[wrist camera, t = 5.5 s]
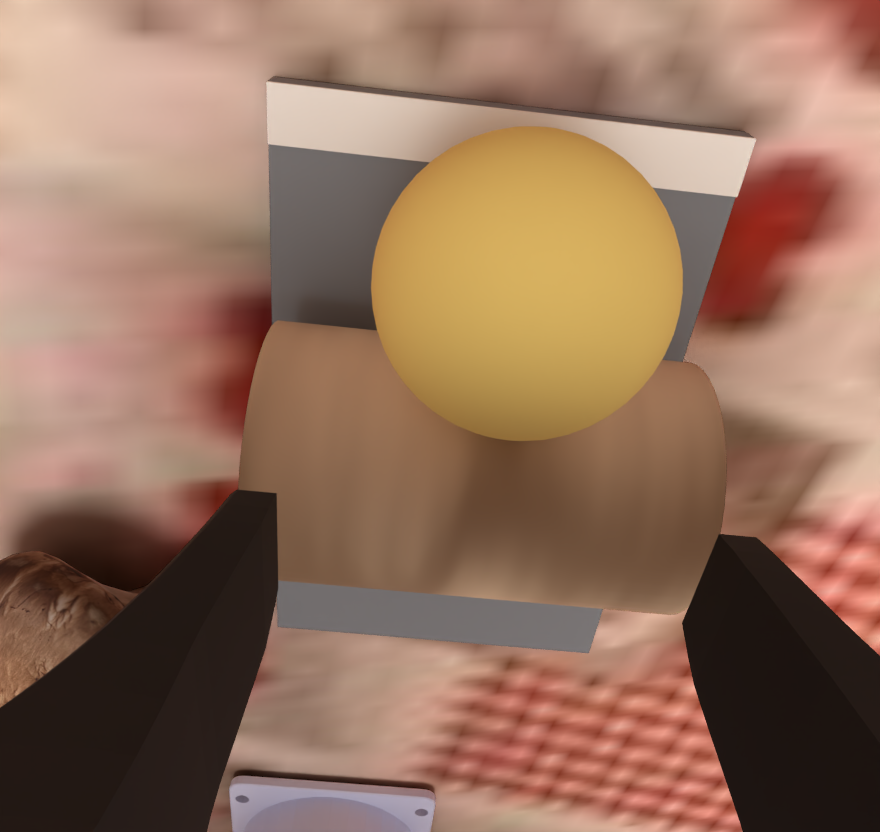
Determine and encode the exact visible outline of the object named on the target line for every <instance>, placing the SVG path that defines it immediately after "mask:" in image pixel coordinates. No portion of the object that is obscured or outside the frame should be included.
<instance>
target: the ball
mask: <svg viewBox="0 0 880 832" xmlns="http://www.w3.org/2000/svg"><path fill="white" fill-rule="evenodd" d="M371 294H372V307H373V313H374V318H375V323H376V327H377V331H378V334H379V337H380V340H381V343H382V346H383V348H384V350H385V352H386V354H387V356H388V358H389V360H390V362H391V364H392V366H393V368H394V369H395V371H396V372H397V374H398V375H399V376H400V378H401V379H402V381H403V382H404V383H405V385H406V386H407V387H408V388H409V389H410V390H411V391H412V392H413V393H414V395H415V396H416V397H417V398H418V399H419V400H420V401H421V402H423V403H424V404H425V405H426V406H427V407H429V408H430V409H431V410H432V411H434V412H435V413H436V414H438V415H439V416H441V417H443V418H444V419H446V420H448V421H449V422H451V423H453V424H454V425H457V426H459V427H461V428H464V429H466V430H469V431H471V432H474V433H476V434H479V435H483V436H487V437H491V438H496V439H502V440H510V441H534V440H546V439H551V438H556V437H560V436H565V435H569V434H571V433H574V432H577V431H579V430H582V429H585V428H587V427H590V426H592V425H594V424H595V423H597V422H599V421H601V420H603V419H605V418H607V417H608V416H609V415H611V414H612V413H614V412H615V411H616V410H618V409H619V408H620V407H622V406H623V405H624V404H626V403H627V402H628V401H629V400H630V399H631V398H632V397H633V396H634V395H635V394H636V393H637V392H638V391H639V390H640V389H641V388H642V387H643V386H644V385H645V383H646V382H647V381H648V380H649V378H650V377H651V376H652V375H653V373H654V372H655V370H656V369H657V367H658V365H659V364H660V362H661V360H662V359H663V357H664V355H665V354H666V351H667V349H668V347H669V344H670V342H671V340H672V337H673V335H674V332H675V328H676V325H677V321H678V318H679V314H680V308H681V301H682V294H683V268H682V260H681V253H680V247H679V244H678V240H677V236H676V233H675V229H674V226H673V224H672V222H671V219H670V217H669V215H668V212H667V210H666V208H665V206H664V205H663V203H662V201H661V200H660V198H659V196H658V195H657V193H656V192H655V190H654V189H653V188H652V186H651V185H650V184H649V183H648V182H647V180H646V179H645V178H644V177H643V175H642V174H641V173H640V172H639V171H637V170H636V169H635V168H634V167H633V166H632V165H631V164H630V163H629V162H628V161H627V160H625V159H624V158H623V157H622V156H620V155H619V154H617V153H616V152H614V151H613V150H611V149H610V148H608V147H607V146H605V145H603V144H601V143H599V142H596V141H594V140H592V139H590V138H588V137H586V136H583V135H580V134H577V133H573V132H569V131H565V130H562V129H557V128H551V127H539V126H519V127H511V128H505V129H499V130H494V131H490V132H487V133H484V134H481V135H478V136H475V137H472V138H469V139H467V140H465V141H463V142H461V143H459V144H457V145H455V146H453V147H451V148H450V149H448V150H447V151H445V152H444V153H442V154H441V155H439V156H438V157H436V158H435V159H433V160H432V161H431V162H430V163H429V164H428V165H427V166H426V167H425V168H423V169H422V170H421V171H420V172H419V173H418V174H417V175H416V176H415V177H414V178H413V180H412V181H411V182H410V183H409V184H408V185H407V187H406V188H405V189H404V190H403V191H402V193H401V194H400V196H399V198H398V199H397V201H396V202H395V204H394V205H393V207H392V208H391V210H390V212H389V215H388V217H387V219H386V221H385V223H384V225H383V227H382V230H381V233H380V236H379V239H378V242H377V246H376V250H375V255H374V260H373V266H372V280H371Z"/></svg>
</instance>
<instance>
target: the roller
mask: <svg viewBox="0 0 880 832" xmlns="http://www.w3.org/2000/svg"><path fill="white" fill-rule="evenodd" d="M726 474H727V463H726V443H725V432H724V426H723V419H722V414H721V410H720V406H719V402H718V399H717V396H716V393H715V390H714V388H713V386H712V384H711V382H710V380H709V378H708V377H707V375H706V374H705V372H704V371H703V370H702V369H701V368H700V367H699V366H697V365H695V364H693V363H689V362H679V361H669V360H661V362H660V364H659V365H658V367H657V369H656V370H655V372H654V373H653V375H652V376H651V377H650V378H649V380H648V381H647V382H646V383H645V385H644V386H643V387H642V388H641V389H640V390H639V391H638V392H637V393H636V394H635V395H634V396H633V397H632V398H631V399H630V400H629V401H628V402H627V403H626V404H624V405H623V406H622V407H620V408H619V409H618V410H616V411H615V412H614V413H612V414H611V415H609V416H608V417H607V418H605V419H603V420H601V421H599V422H597V423H595V424H594V425H592V426H590V427H587V428H585V429H582V430H579V431H577V432H574V433H571V434H569V435H565V436H560V437H556V438H551V439H546V440H534V441H510V440H502V439H496V438H491V437H487V436H483V435H479V434H476V433H474V432H471V431H469V430H466V429H464V428H461V427H459V426H457V425H454V424H453V423H451V422H449V421H448V420H446V419H444V418H443V417H441V416H439V415H438V414H436V413H435V412H434V411H432V410H431V409H430V408H429V407H427V406H426V405H425V404H424V403H423V402H421V401H420V400H419V399H418V398H417V397H416V396H415V395H414V393H413V392H412V391H411V390H410V389H409V388H408V387H407V386H406V385H405V383H404V382H403V381H402V379H401V378H400V376H399V375H398V374H397V372H396V371H395V369H394V368H393V366H392V364H391V362H390V360H389V358H388V356H387V354H386V352H385V350H384V348H383V346H382V343H381V340H380V337H379V334H378V331H377V330H367V329H358V328H348V327H338V326H328V325H319V324H309V323H299V322H289V321H279V320H278V321H276V322H274V324H273V325H272V326H271V327H270V329H269V331H268V333H267V335H266V337H265V340H264V342H263V345H262V348H261V351H260V353H259V357H258V360H257V364H256V368H255V371H254V376H253V380H252V384H251V389H250V394H249V400H248V405H247V411H246V417H245V424H244V431H243V439H242V448H241V457H240V469H239V483H238V490H248V491H259V492H270V493H277V538H278V581H289V582H301V583H312V584H324V585H335V586H346V587H358V588H369V589H381V590H392V591H404V592H415V593H427V594H438V595H449V596H461V597H472V598H484V599H495V600H507V601H518V602H530V603H541V604H552V605H564V606H575V607H587V608H598V609H610V610H621V611H632V612H644V613H655V614H667V615H674V614H678V613H680V612H682V611H684V610H685V609H686V608H688V607H689V605H690V603H691V600H692V598H693V596H694V593H695V591H696V588H697V586H698V583H699V581H700V579H701V576H702V574H703V571H704V569H705V566H706V564H707V561H708V559H709V557H710V554H711V552H712V549H713V547H714V544H715V542H716V540H717V537H718V535H719V534H720V532H721V527H722V520H723V513H724V506H725V495H726Z"/></svg>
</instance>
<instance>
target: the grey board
mask: <svg viewBox="0 0 880 832" xmlns="http://www.w3.org/2000/svg"><path fill="white" fill-rule="evenodd" d="M266 87H267V139H268V144H269V190H270V243H271V296H272V325H273V324H274V322H276V321H278V320H279V321H289V322H299V323H309V324H319V325H328V326H338V327H348V328H358V329H367V330H377V327H376V323H375V318H374V313H373V307H372V294H371V280H372V266H373V260H374V255H375V250H376V246H377V242H378V239H379V236H380V233H381V230H382V227H383V225H384V223H385V221H386V219H387V217H388V215H389V212H390V210H391V208H392V207H393V205H394V204H395V202H396V201H397V199H398V198H399V196H400V194H401V193H402V191H403V190H404V189H405V188H406V187H407V185H408V184H409V183H410V182H411V181H412V180H413V178H414V177H415V176H416V175H417V174H418V173H419V172H420V171H421V170H422V169H423V168H425V167H426V166H427V165H428V164H429V163H430V162H431V161H432V160H433V159H435V158H436V157H438V156H439V155H441V154H442V153H444V152H445V151H447V150H448V149H450V148H451V147H453V146H455V145H457V144H459V143H461V142H463V141H465V140H467V139H469V138H472V137H475V136H478V135H481V134H484V133H487V132H490V131H494V130H499V129H505V128H511V127H519V126H539V127H551V128H557V129H562V130H565V131H569V132H573V133H577V134H580V135H583V136H586V137H588V138H590V139H592V140H594V141H596V142H599V143H601V144H603V145H605V146H607V147H608V148H610V149H611V150H613V151H614V152H616V153H617V154H619V155H620V156H622V157H623V158H624V159H625V160H627V161H628V162H629V163H630V164H631V165H632V166H633V167H634V168H635V169H636V170H637V171H639V172H640V173H641V174H642V175H643V177H644V178H645V179H646V180H647V182H648V183H649V184H650V185H651V186H652V188H653V189H654V190H655V192H656V193H657V195H658V196H659V198H660V200H661V201H662V203H663V205H664V206H665V208H666V210H667V212H668V215H669V217H670V219H671V222H672V224H673V226H674V229H675V233H676V236H677V240H678V244H679V247H680V253H681V260H682V268H683V294H682V301H681V308H680V314H679V318H678V321H677V325H676V328H675V332H674V335H673V337H672V340H671V342H670V344H669V347H668V349H667V351H666V354H665V355H664V357H663V359H662V360H669V361H679V362H683V359H684V356H685V353H686V349H687V346H688V343H689V340H690V337H691V334H692V331H693V328H694V325H695V321H696V318H697V315H698V312H699V309H700V306H701V303H702V300H703V297H704V293H705V290H706V287H707V284H708V281H709V278H710V275H711V272H712V269H713V266H714V262H715V259H716V256H717V253H718V250H719V247H720V244H721V241H722V238H723V234H724V231H725V228H726V225H727V222H728V219H729V216H730V213H731V210H732V207H733V203H734V200H735V197H738V194H739V191H740V188H741V185H742V182H743V178H744V175H745V172H746V169H747V166H748V163H749V160H750V157H751V154H752V151H753V148H754V144H755V141H756V138H754V137H753V136H751V135H749V134H748V133H746V132H744V131H735V130H727V129H718V128H710V127H701V126H693V125H684V124H676V123H667V122H658V121H650V120H641V119H633V118H624V117H616V116H607V115H599V114H590V113H581V112H573V111H564V110H556V109H547V108H539V107H530V106H522V105H513V104H505V103H496V102H487V101H479V100H470V99H462V98H453V97H445V96H436V95H428V94H419V93H410V92H402V91H393V90H385V89H376V88H368V87H359V86H351V85H342V84H333V83H325V82H316V81H308V80H299V79H291V78H282V77H272V78H271V79H270V80H268V81H267V82H266ZM602 610H603V609H598V608H587V607H575V606H564V605H552V604H541V603H530V602H518V601H507V600H495V599H484V598H472V597H461V596H449V595H438V594H427V593H415V592H404V591H392V590H381V589H369V588H358V587H346V586H335V585H324V584H312V583H301V582H289V581H278V592H277V615H278V627H285V628H297V629H309V630H321V631H333V632H344V633H356V634H368V635H380V636H392V637H403V638H415V639H427V640H439V641H451V642H463V643H474V644H486V645H498V646H510V647H522V648H533V649H545V650H557V651H569V652H581V653H589V651H590V648H591V644H592V641H593V638H594V635H595V632H596V629H597V626H598V623H599V620H600V617H601V613H602Z"/></svg>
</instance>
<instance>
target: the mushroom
mask: <svg viewBox="0 0 880 832" xmlns="http://www.w3.org/2000/svg"><path fill="white" fill-rule="evenodd" d="M145 587H146V586H144V587H141V588H139V589H136V590H133V591H129V592H127V591H123V590H120V589H116V588H113V587H109V586H106V585H103V584H101V583H99V582H97V581H95V580H94V579H92V578H90V577H88V576H86V575H84V574H83V573H81V572H79V571H78V570H76V569H75V568H73V567H72V566H70V565H69V564H67V563H65V562H64V561H62V560H61V559H59V558H56V557H54V556H51V555H49V554H46V553H44V552H41V551H29V552H23V553H18V554H13V555H11V556H9V557H7V558H5V559H3V560H1V561H0V707H2V706H3V705H4V704H6V703H7V702H8V701H10V700H11V699H13V698H14V697H15V696H17V695H18V694H19V693H21V692H22V691H24V690H25V689H26V688H28V687H29V686H30V685H32V684H33V683H34V682H36V681H37V680H38V679H40V678H41V677H42V676H44V675H45V674H46V673H48V672H49V671H50V670H51V669H53V668H54V667H55V666H56V665H58V664H59V663H60V662H61V661H63V660H64V659H65V658H66V657H68V656H69V655H70V654H71V653H73V652H74V651H75V650H76V649H77V648H79V647H80V646H81V645H82V644H83V643H85V642H86V641H87V640H88V639H89V638H90V637H92V636H93V635H94V634H95V633H96V632H97V631H99V630H100V629H101V628H102V627H103V626H104V625H105V624H106V623H107V622H109V621H110V620H111V619H112V618H113V617H114V616H115V615H116V614H117V613H118V612H119V611H120V610H121V609H123V608H124V607H125V606H126V605H127V604H128V603H129V602H130V601H131V600H132V599H133V598H134V597H135V596H137V595H138V594H139V593H140V592H141V591H142V590H143V589H144V588H145Z"/></svg>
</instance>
